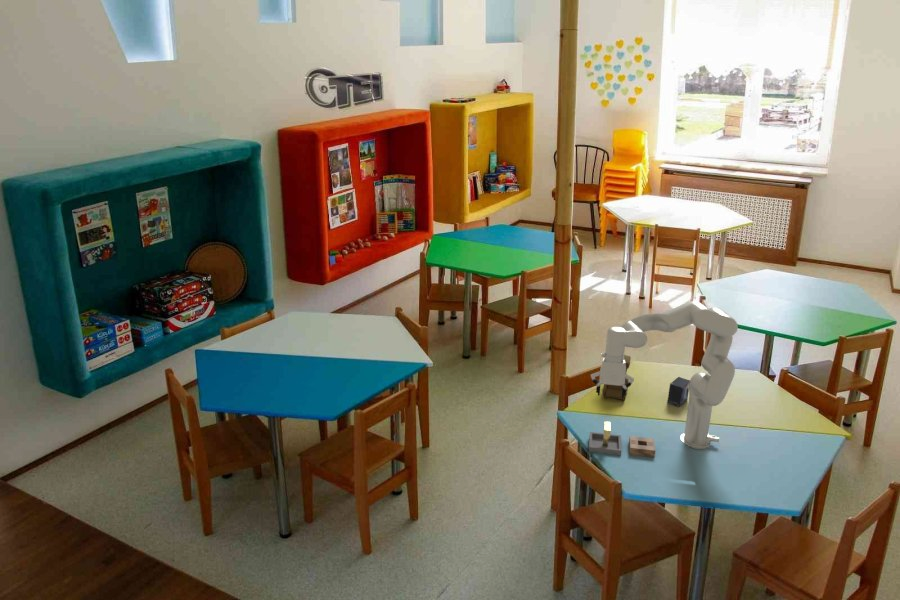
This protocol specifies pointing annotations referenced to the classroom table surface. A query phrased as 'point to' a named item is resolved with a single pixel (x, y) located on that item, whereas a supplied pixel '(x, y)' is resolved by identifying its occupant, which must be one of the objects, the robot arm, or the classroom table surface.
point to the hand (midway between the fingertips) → (610, 395)
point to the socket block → (641, 446)
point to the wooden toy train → (616, 390)
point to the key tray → (597, 446)
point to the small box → (678, 391)
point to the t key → (606, 433)
